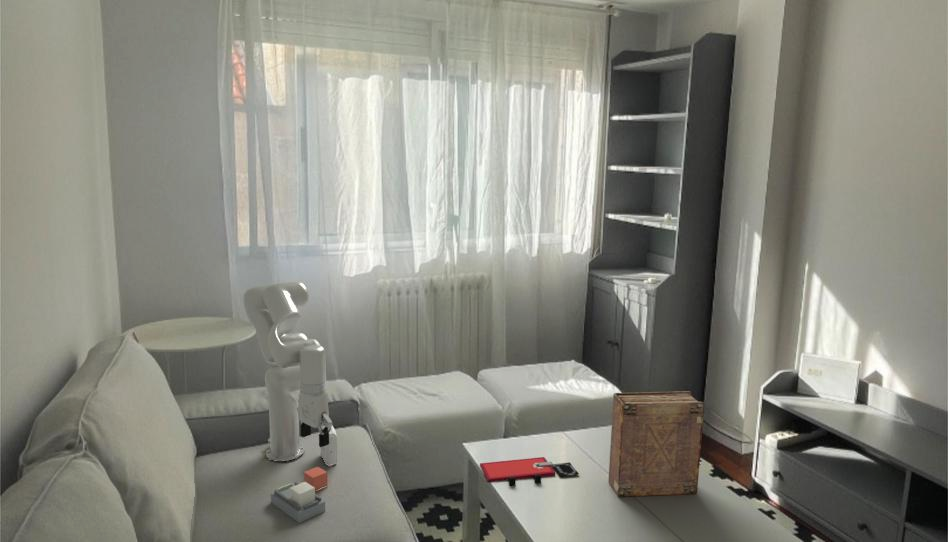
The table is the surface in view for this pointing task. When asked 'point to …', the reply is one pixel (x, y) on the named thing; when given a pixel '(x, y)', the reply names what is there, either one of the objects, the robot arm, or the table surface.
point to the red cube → (316, 478)
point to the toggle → (302, 494)
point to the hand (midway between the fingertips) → (315, 440)
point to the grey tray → (292, 509)
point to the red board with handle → (524, 470)
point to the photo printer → (330, 448)
